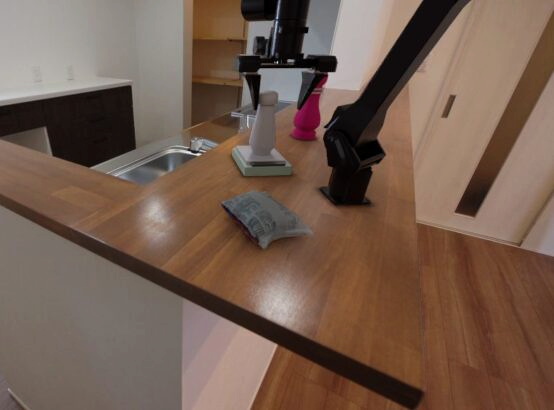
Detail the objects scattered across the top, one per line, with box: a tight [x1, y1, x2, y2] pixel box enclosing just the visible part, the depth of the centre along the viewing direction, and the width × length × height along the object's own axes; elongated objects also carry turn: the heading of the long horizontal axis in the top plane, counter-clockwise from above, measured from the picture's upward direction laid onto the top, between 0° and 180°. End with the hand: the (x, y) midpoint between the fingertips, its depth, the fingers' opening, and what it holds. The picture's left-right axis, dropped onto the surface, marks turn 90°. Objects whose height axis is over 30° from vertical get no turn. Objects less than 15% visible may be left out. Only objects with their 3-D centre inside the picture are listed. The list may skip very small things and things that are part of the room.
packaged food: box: [220, 189, 314, 250], centre depth 44 cm, size 9×12×5 cm
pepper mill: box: [292, 72, 329, 141], centre depth 82 cm, size 7×7×20 cm
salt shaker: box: [248, 89, 279, 156], centre depth 64 cm, size 6×6×13 cm
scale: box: [231, 145, 293, 177], centre depth 67 cm, size 12×10×3 cm
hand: (277, 109), depth 61 cm, fingers open, 9 cm apart
